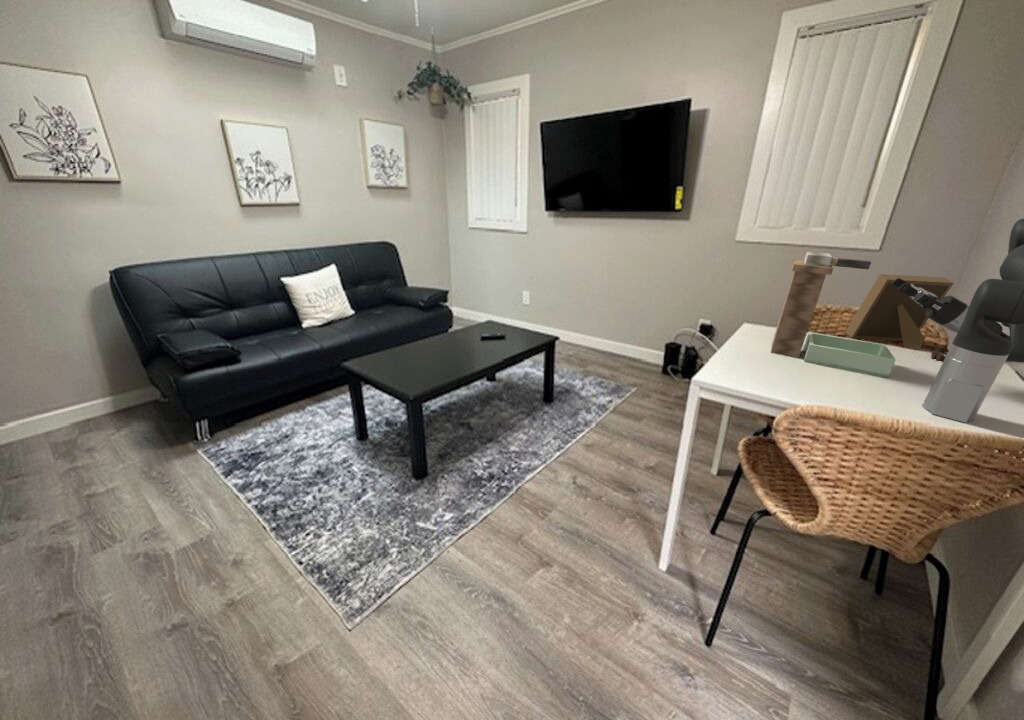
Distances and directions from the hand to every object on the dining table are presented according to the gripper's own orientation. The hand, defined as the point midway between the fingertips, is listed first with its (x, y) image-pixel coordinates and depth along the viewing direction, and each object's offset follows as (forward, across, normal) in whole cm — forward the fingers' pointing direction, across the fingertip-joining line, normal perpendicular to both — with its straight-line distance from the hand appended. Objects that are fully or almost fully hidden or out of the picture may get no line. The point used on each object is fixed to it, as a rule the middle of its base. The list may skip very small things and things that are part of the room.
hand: (898, 283), depth 119 cm
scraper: (+17, 0, -4) cm, 17 cm away
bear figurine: (-38, +24, -13) cm, 47 cm away
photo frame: (-23, +35, -20) cm, 46 cm away
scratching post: (+8, -1, -34) cm, 35 cm away
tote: (-6, -1, -27) cm, 27 cm away
